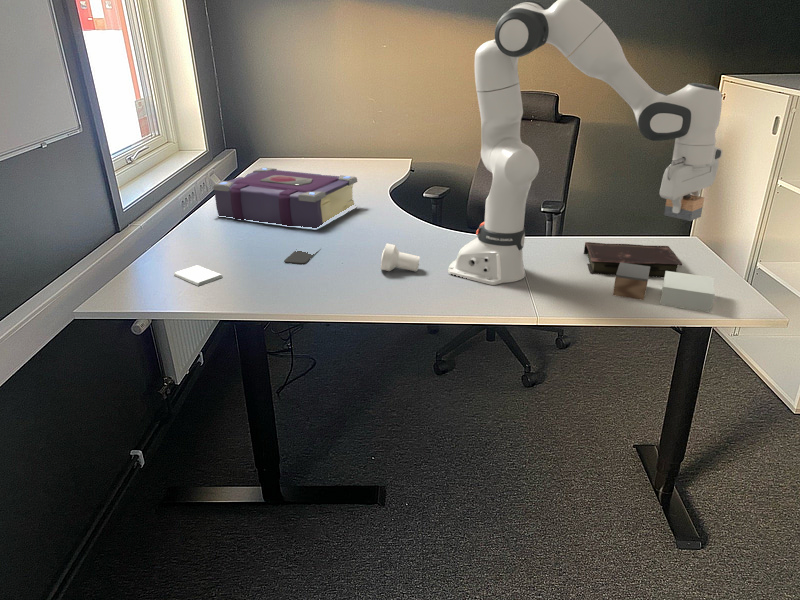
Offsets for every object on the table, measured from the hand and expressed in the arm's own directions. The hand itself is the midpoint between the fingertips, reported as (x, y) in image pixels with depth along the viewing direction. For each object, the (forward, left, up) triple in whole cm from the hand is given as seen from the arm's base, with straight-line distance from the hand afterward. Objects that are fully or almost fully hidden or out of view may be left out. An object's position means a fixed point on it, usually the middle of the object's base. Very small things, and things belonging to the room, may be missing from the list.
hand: (683, 209), depth 153 cm
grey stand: (+5, +1, -24) cm, 25 cm away
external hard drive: (-126, -38, -25) cm, 134 cm away
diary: (-11, +21, -25) cm, 34 cm away
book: (-139, +27, -25) cm, 143 cm away
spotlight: (-74, -11, -25) cm, 79 cm away
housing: (0, 0, -2) cm, 2 cm away
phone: (-107, -11, -25) cm, 111 cm away
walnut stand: (-9, +1, -24) cm, 26 cm away
